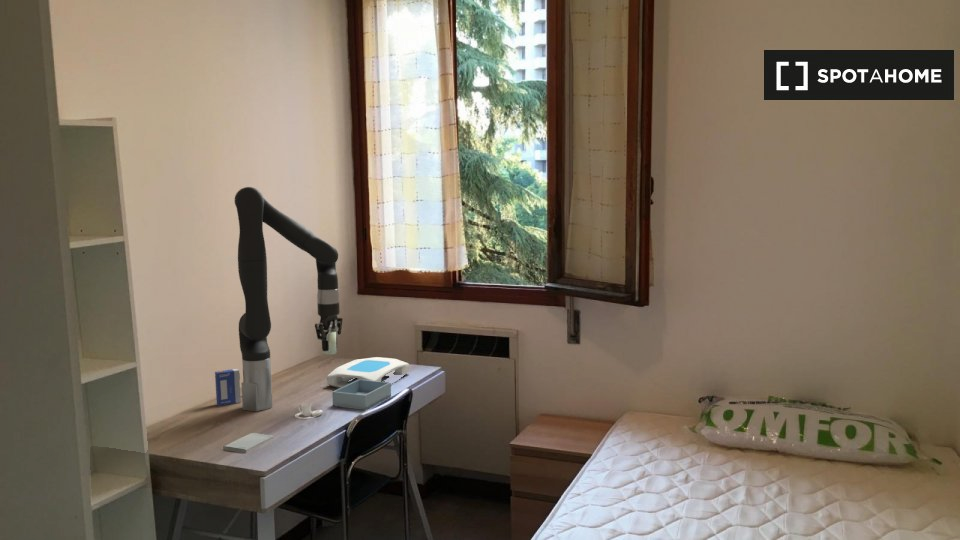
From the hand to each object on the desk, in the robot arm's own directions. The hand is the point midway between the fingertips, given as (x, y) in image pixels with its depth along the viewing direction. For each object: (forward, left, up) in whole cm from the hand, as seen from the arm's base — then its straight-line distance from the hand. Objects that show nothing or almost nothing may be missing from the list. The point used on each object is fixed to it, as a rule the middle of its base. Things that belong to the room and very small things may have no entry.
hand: (329, 349), depth 259 cm
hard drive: (-47, -3, -19) cm, 51 cm away
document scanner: (+26, 0, -19) cm, 32 cm away
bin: (+2, -12, -18) cm, 22 cm away
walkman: (-17, +31, -18) cm, 40 cm away
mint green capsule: (0, 0, -1) cm, 1 cm away
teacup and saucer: (-20, -5, -19) cm, 28 cm away
